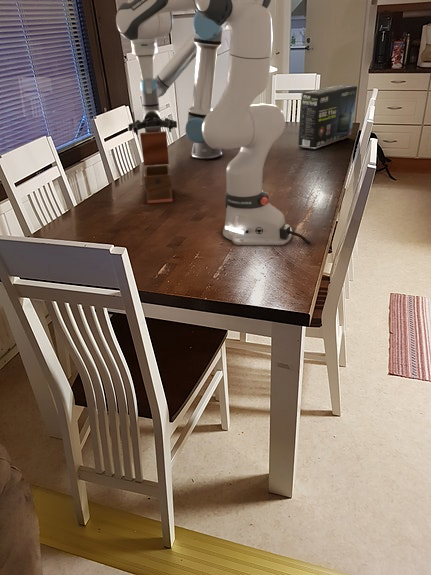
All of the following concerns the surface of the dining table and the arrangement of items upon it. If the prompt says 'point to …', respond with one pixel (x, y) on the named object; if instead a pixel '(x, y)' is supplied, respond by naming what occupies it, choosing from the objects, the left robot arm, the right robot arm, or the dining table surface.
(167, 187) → the chest
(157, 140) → the lid
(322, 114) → the router box
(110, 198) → the dining table surface
